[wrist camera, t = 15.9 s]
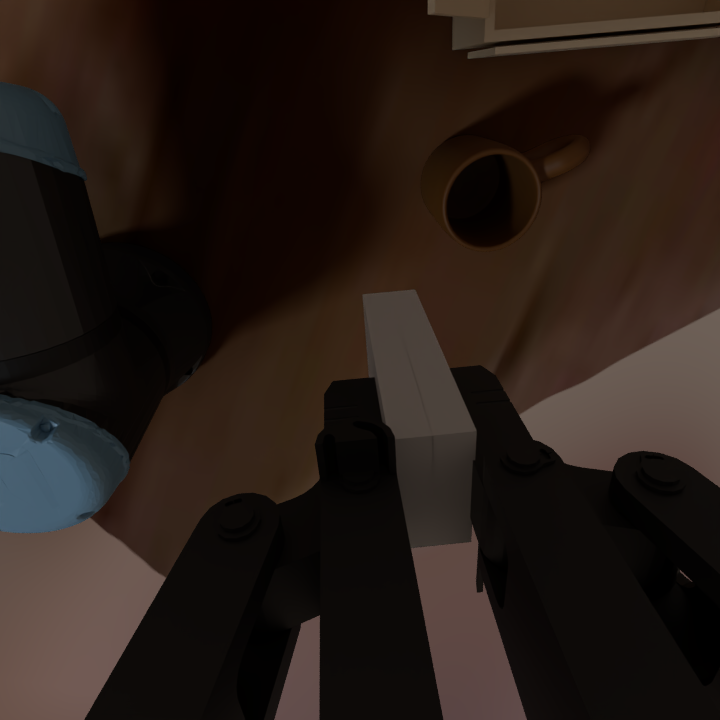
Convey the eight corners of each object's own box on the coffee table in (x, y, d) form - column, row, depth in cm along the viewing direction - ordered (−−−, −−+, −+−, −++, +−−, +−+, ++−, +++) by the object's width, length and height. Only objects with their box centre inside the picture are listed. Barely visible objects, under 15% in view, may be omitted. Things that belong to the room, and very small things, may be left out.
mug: (536, 87, 41) (589, 89, 33) (561, 174, 44) (615, 195, 36) (404, 161, 43) (423, 179, 35) (438, 238, 46) (463, 271, 38)
